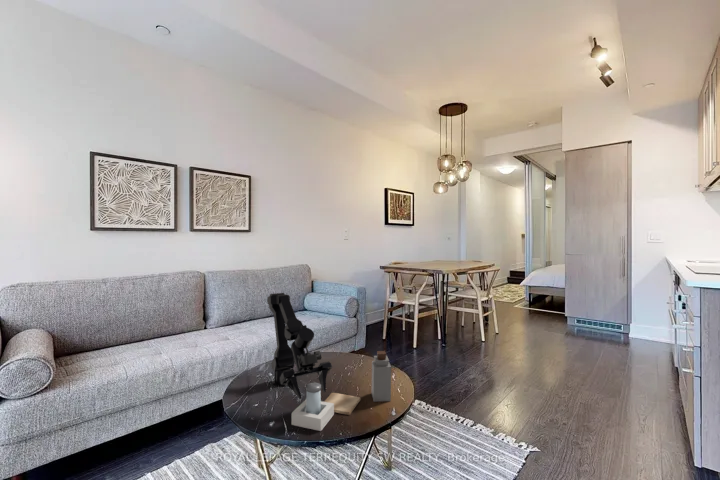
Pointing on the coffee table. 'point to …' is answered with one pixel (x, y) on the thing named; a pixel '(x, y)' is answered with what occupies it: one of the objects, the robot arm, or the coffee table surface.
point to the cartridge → (313, 398)
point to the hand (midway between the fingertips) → (312, 395)
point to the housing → (312, 416)
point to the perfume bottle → (381, 377)
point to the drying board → (343, 402)
